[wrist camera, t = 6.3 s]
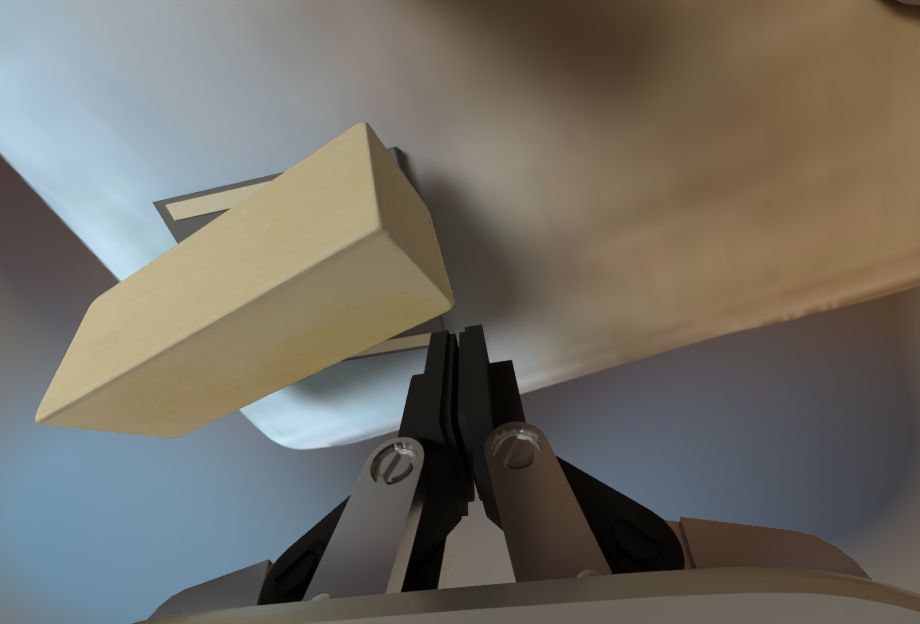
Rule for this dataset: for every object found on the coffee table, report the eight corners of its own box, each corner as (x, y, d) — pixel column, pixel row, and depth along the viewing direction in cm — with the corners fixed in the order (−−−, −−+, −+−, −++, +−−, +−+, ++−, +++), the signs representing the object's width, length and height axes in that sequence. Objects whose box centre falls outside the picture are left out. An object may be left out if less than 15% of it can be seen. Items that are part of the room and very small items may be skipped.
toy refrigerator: (435, 217, 21) (208, 342, 26) (364, 114, 15) (86, 299, 20) (465, 314, 17) (186, 443, 22) (382, 222, 11) (22, 428, 16)
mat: (396, 147, 20) (393, 147, 19) (446, 339, 26) (445, 345, 25) (162, 200, 21) (151, 202, 21) (262, 368, 28) (256, 375, 27)
